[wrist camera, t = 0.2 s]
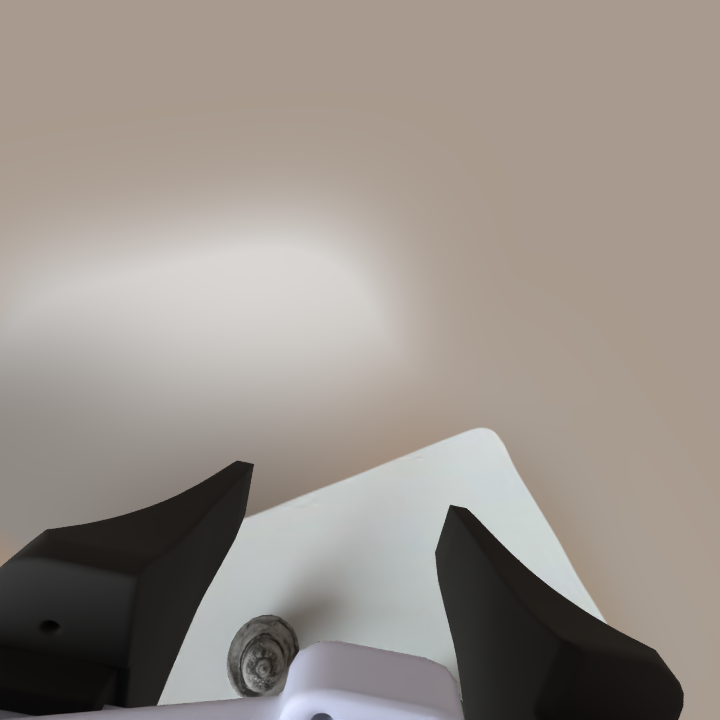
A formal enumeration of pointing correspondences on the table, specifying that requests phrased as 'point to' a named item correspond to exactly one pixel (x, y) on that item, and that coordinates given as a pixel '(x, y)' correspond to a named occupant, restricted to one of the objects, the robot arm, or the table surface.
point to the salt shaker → (261, 657)
